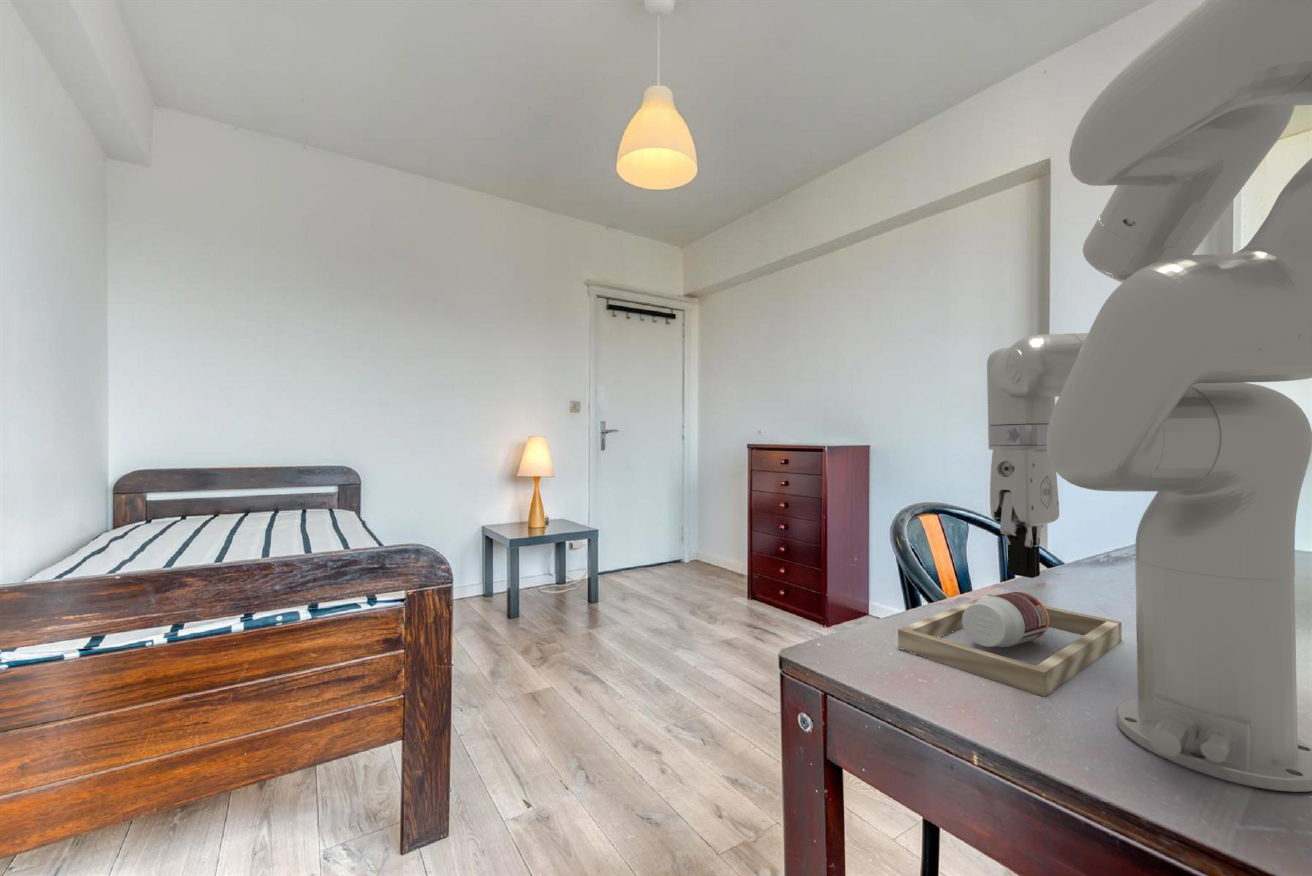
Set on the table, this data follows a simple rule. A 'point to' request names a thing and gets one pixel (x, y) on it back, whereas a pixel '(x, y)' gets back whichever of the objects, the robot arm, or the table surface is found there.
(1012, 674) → the tray frame
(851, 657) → the table surface
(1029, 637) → the pill bottle
